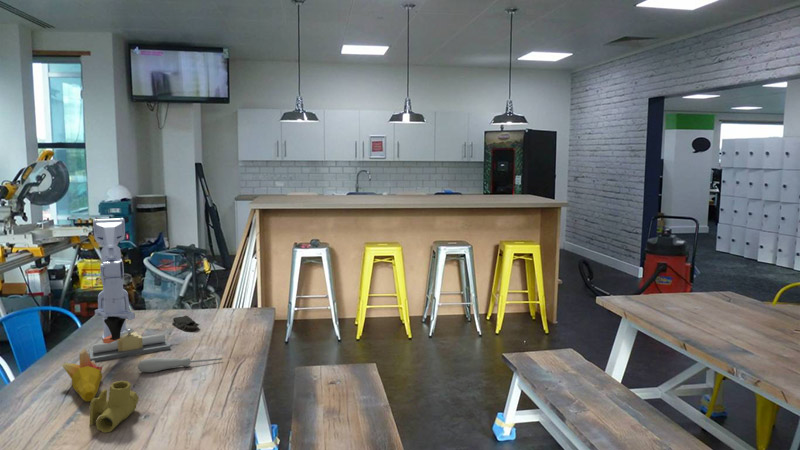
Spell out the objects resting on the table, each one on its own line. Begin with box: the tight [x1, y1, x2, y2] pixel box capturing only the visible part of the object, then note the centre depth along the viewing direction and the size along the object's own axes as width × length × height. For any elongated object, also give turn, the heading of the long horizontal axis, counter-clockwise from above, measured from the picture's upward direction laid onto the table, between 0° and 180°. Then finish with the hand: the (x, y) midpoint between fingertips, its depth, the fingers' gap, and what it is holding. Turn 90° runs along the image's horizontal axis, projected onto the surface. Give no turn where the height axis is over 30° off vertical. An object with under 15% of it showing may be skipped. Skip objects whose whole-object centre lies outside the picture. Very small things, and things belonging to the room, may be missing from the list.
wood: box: [171, 315, 200, 333], centre depth 215 cm, size 22×8×3 cm, turn 36°
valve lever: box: [102, 327, 134, 344], centre depth 181 cm, size 12×3×2 cm, turn 168°
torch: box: [61, 346, 103, 402], centre depth 154 cm, size 8×8×25 cm
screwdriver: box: [137, 356, 223, 373], centre depth 172 cm, size 5×25×4 cm, turn 114°
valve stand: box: [88, 331, 171, 363], centre depth 186 cm, size 10×24×6 cm, turn 122°
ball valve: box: [88, 380, 140, 433], centre depth 136 cm, size 13×10×10 cm
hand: (116, 339), depth 177 cm, fingers closed, pressing on valve lever
